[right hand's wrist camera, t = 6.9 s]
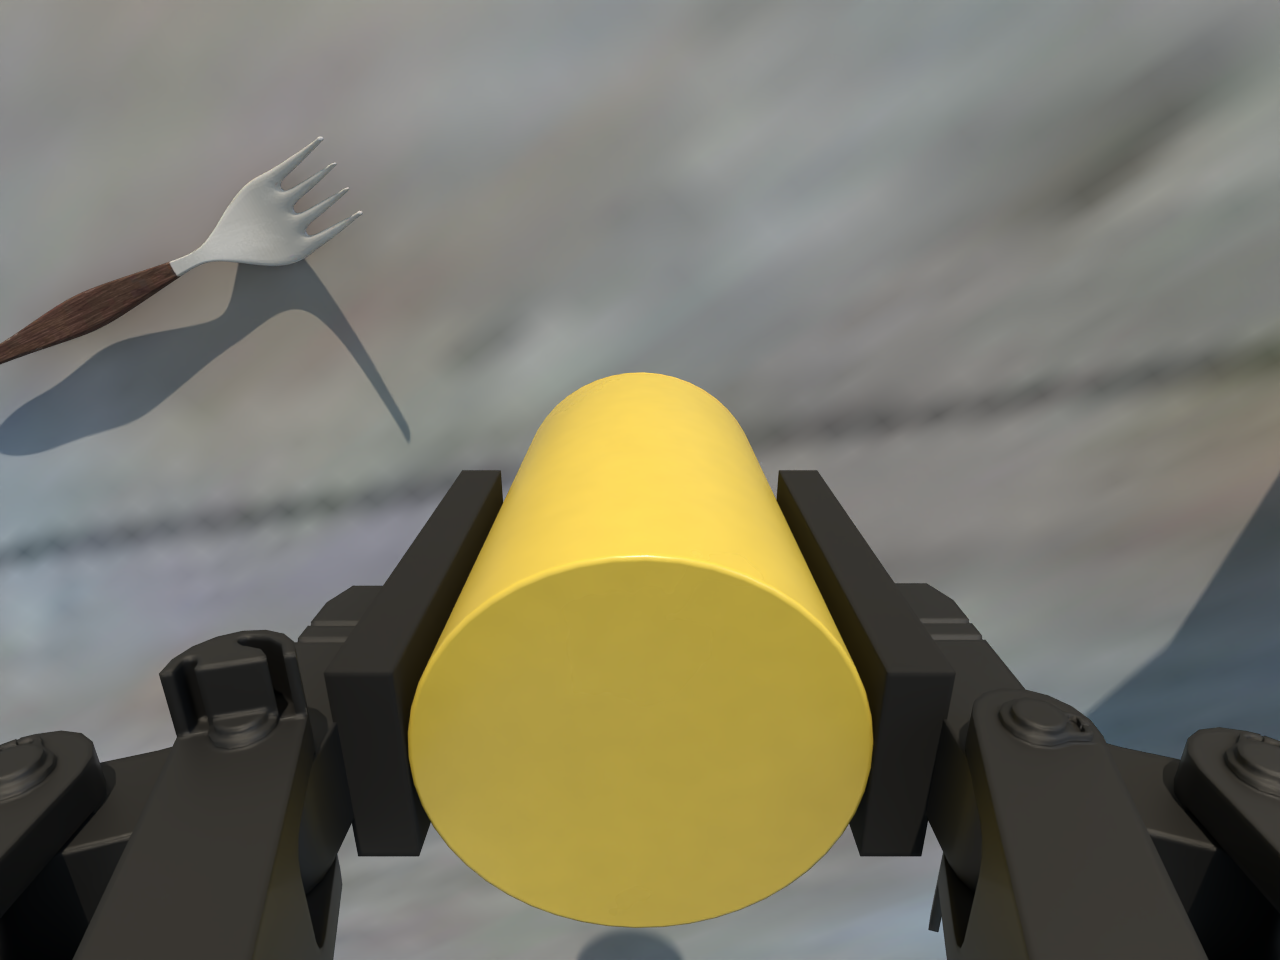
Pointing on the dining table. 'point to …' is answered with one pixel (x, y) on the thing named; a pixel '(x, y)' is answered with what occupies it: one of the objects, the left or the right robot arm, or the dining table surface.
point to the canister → (640, 675)
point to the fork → (198, 256)
